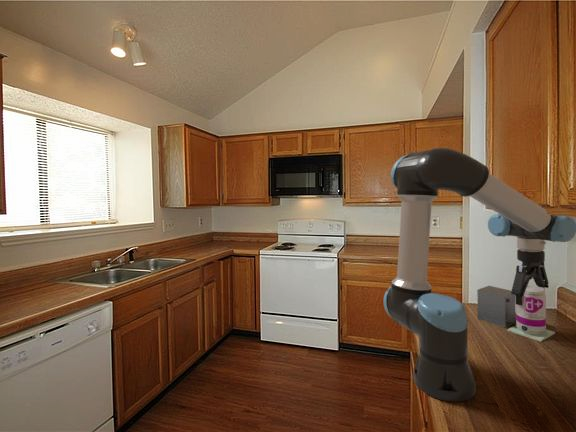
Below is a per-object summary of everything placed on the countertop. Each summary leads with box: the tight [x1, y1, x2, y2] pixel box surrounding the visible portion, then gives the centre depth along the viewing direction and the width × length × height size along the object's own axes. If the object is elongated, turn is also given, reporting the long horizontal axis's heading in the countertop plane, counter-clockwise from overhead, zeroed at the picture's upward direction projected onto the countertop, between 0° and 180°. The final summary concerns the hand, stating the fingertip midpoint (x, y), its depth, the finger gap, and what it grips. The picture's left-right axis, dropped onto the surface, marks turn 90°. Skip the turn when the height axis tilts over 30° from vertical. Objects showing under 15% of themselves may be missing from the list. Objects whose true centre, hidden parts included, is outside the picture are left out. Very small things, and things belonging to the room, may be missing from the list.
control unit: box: [476, 285, 516, 329], centre depth 119 cm, size 8×10×12 cm
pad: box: [507, 324, 556, 342], centre depth 109 cm, size 10×10×1 cm
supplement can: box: [515, 285, 547, 335], centre depth 108 cm, size 8×8×15 cm
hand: (530, 309), depth 108 cm, fingers open, 13 cm apart
